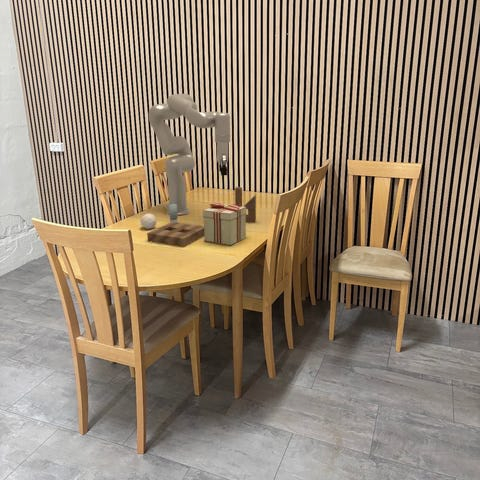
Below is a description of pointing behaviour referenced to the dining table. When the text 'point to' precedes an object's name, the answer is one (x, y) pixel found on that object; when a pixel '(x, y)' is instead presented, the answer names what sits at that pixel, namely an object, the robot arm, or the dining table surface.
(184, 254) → the dining table surface
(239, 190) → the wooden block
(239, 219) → the gift box
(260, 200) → the dining table surface
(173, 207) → the peg
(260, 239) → the dining table surface
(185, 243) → the board
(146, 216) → the geometric ball
